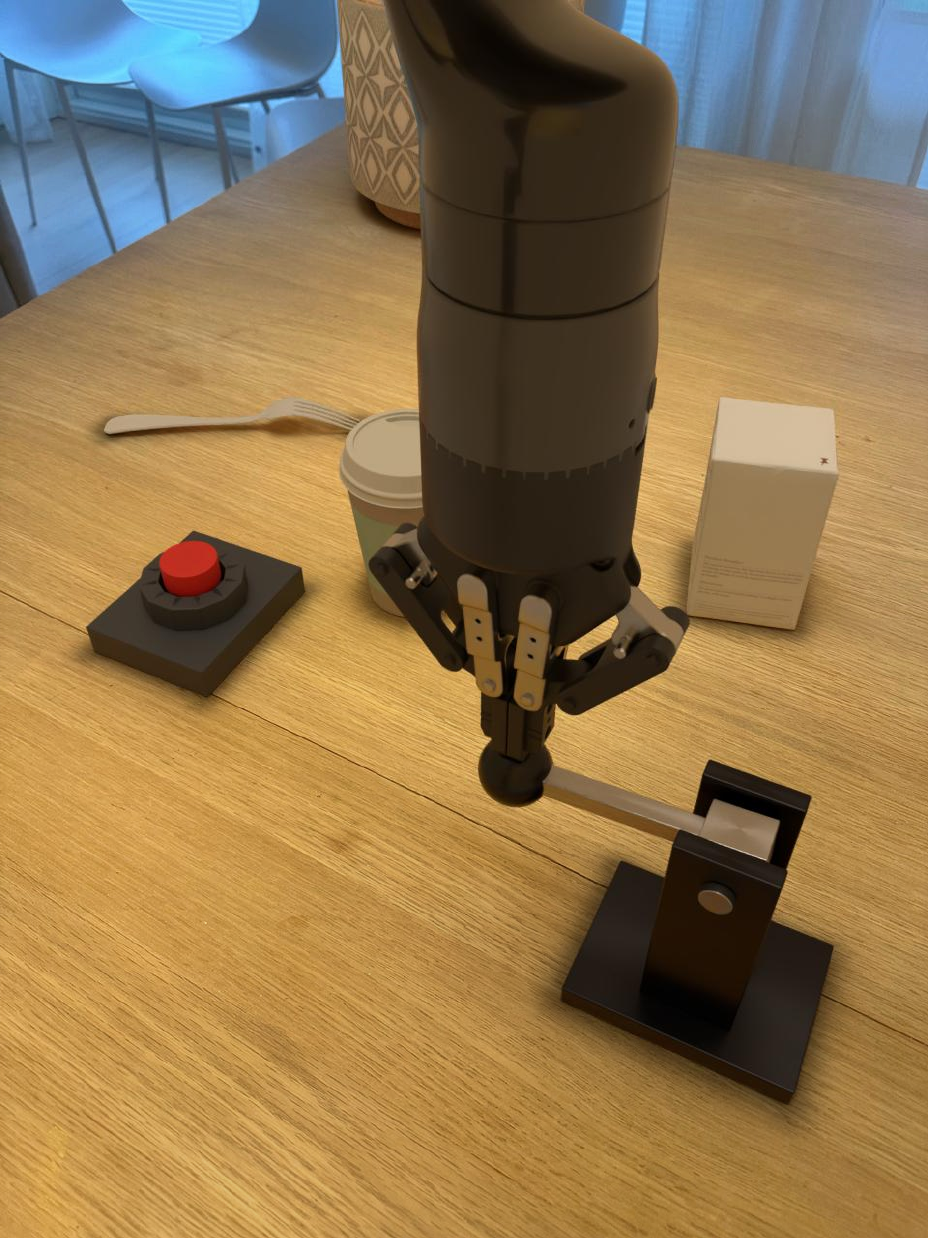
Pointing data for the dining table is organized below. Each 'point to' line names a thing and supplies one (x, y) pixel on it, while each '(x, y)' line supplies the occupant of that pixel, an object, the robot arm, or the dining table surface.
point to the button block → (198, 618)
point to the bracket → (710, 948)
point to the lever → (622, 803)
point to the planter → (380, 112)
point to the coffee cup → (383, 483)
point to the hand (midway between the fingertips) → (517, 742)
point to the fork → (274, 410)
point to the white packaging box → (762, 511)
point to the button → (190, 569)
